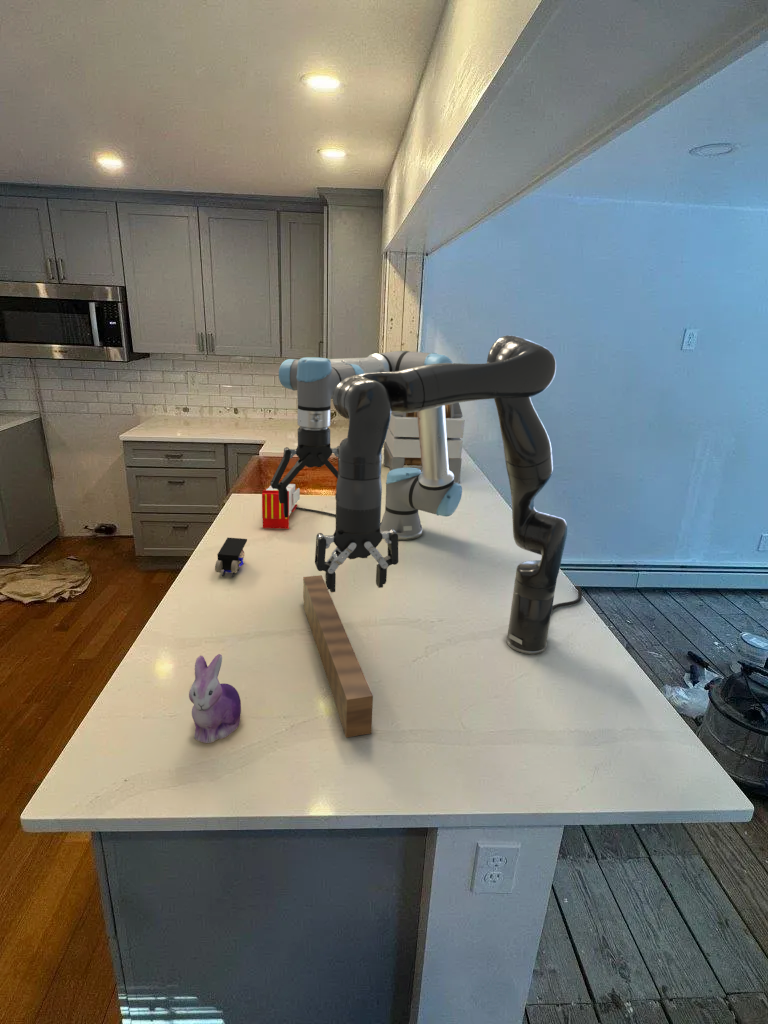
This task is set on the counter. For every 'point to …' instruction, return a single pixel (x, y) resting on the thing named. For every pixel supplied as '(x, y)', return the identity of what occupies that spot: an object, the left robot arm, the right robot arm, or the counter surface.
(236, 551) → the figurine character
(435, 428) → the left robot arm
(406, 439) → the slatted crate
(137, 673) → the counter surface
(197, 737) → the figurine
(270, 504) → the toy
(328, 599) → the beam
